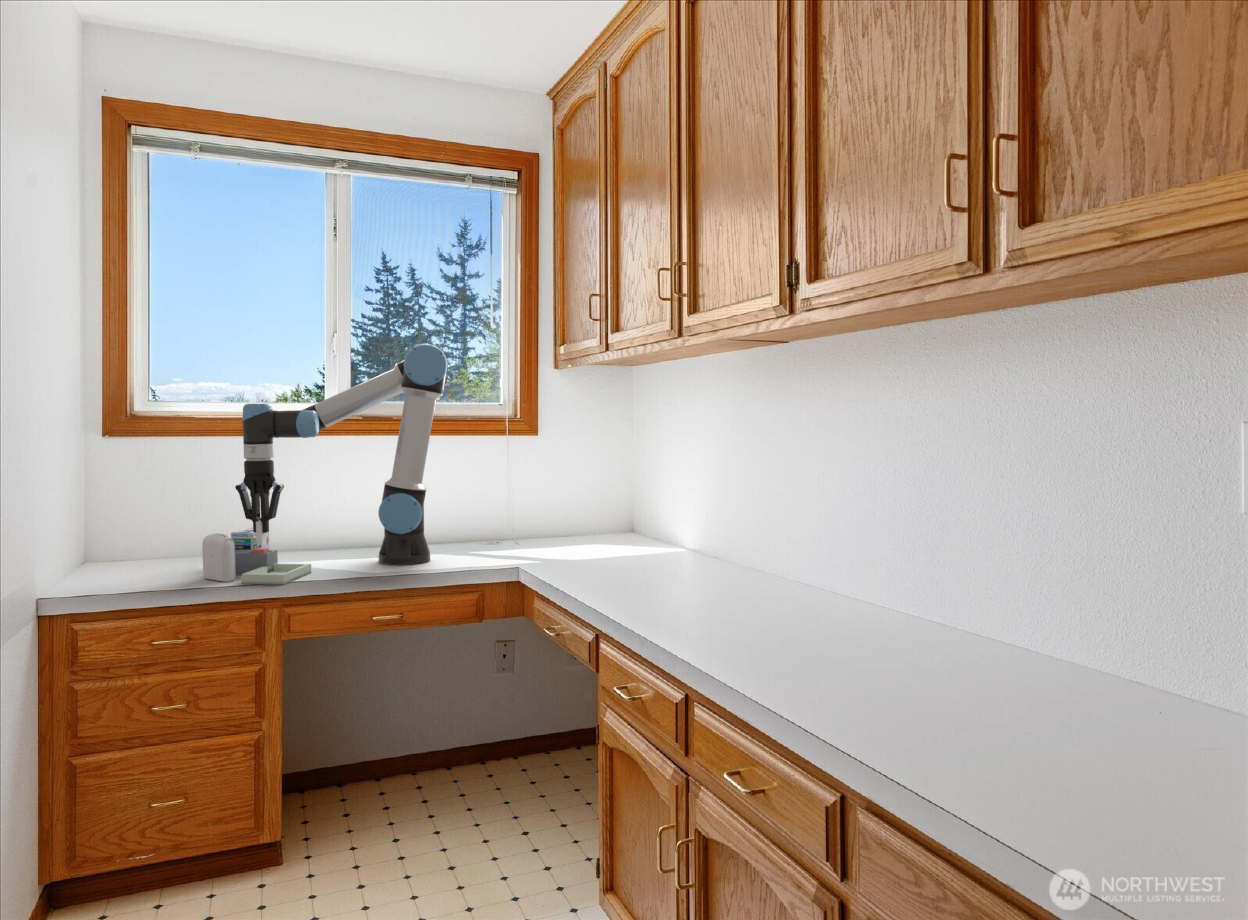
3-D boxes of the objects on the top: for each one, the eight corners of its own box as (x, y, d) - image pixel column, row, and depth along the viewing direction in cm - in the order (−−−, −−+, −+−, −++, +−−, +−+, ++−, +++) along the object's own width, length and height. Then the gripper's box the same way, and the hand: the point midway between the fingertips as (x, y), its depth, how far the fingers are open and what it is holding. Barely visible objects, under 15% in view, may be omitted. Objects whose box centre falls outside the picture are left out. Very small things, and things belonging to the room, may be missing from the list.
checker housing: (277, 571, 236) (277, 550, 235) (267, 575, 230) (267, 553, 229) (229, 570, 236) (228, 549, 236) (217, 574, 230) (217, 552, 230)
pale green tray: (311, 572, 234) (311, 563, 234) (284, 584, 217) (284, 574, 217) (271, 572, 234) (271, 563, 234) (241, 583, 218) (241, 574, 218)
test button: (269, 565, 234) (268, 547, 234) (263, 567, 231) (263, 549, 231) (257, 565, 234) (256, 547, 234) (251, 567, 231) (251, 549, 231)
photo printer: (200, 578, 225) (199, 533, 224) (215, 576, 228) (214, 531, 227) (222, 583, 219) (222, 536, 218) (238, 580, 223) (237, 534, 222)
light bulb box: (254, 570, 237) (253, 532, 237) (230, 570, 237) (229, 532, 237) (270, 563, 248) (270, 527, 247) (248, 563, 248) (247, 527, 247)
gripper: (228, 460, 228) (231, 546, 229) (275, 460, 227) (278, 546, 228) (242, 459, 235) (245, 542, 236) (288, 458, 234) (290, 542, 236)
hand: (261, 544), depth 232 cm, fingers closed
